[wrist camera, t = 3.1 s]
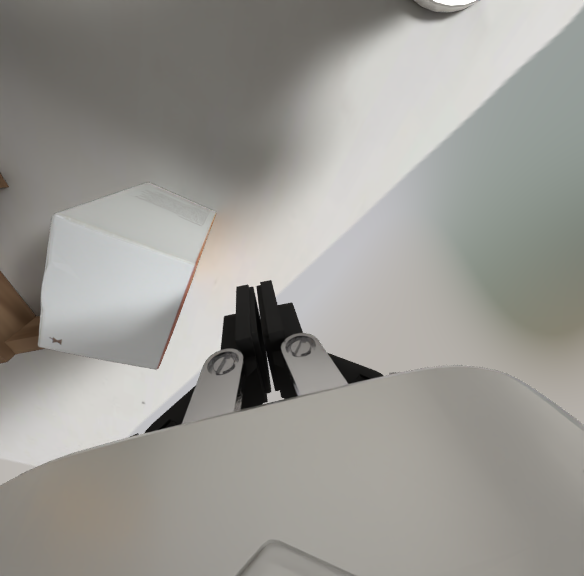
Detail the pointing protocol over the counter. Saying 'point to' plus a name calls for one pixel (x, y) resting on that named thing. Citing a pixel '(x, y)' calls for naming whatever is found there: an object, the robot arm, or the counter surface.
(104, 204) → the small box
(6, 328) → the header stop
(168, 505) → the robot arm
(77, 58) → the counter surface
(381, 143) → the counter surface
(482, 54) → the counter surface
